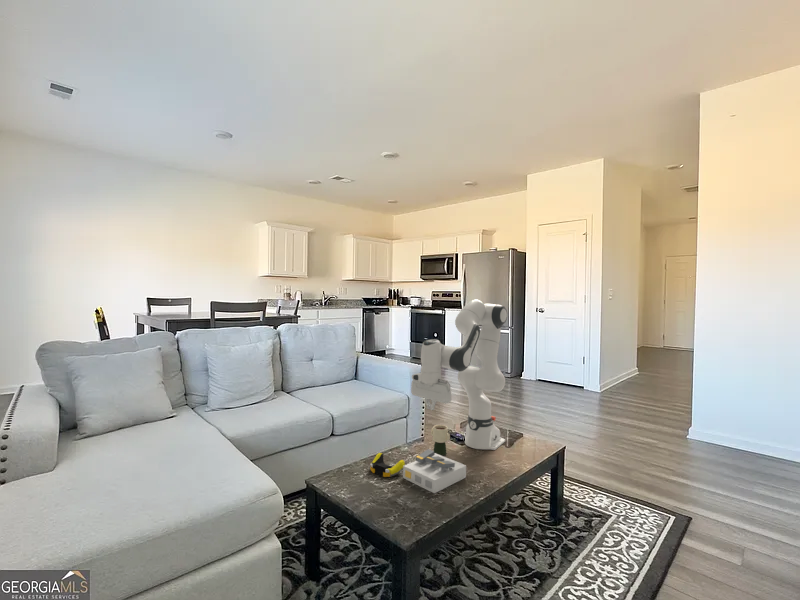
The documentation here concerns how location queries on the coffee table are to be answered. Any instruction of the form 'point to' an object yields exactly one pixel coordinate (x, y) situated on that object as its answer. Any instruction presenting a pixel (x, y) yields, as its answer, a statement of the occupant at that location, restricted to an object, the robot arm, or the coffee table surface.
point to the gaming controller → (385, 467)
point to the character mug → (440, 438)
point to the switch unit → (433, 474)
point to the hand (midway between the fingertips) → (430, 409)
